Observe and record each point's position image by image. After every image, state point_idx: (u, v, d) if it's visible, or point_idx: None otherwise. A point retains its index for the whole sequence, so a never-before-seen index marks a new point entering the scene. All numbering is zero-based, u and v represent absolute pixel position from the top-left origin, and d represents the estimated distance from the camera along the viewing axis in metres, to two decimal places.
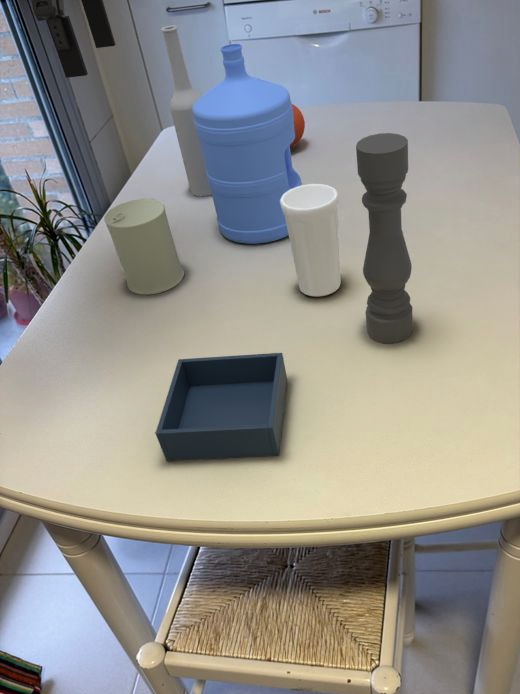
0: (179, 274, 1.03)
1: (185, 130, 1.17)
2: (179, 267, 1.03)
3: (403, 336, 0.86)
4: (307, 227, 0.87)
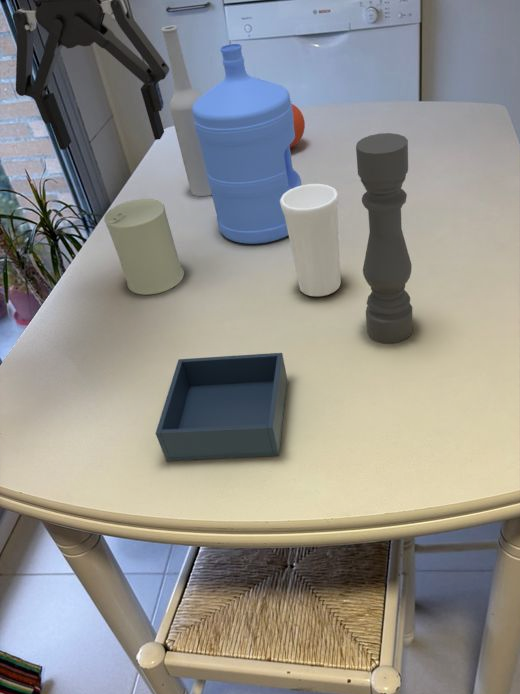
0: (179, 274, 1.03)
1: (185, 130, 1.17)
2: (179, 267, 1.03)
3: (403, 336, 0.86)
4: (307, 227, 0.87)
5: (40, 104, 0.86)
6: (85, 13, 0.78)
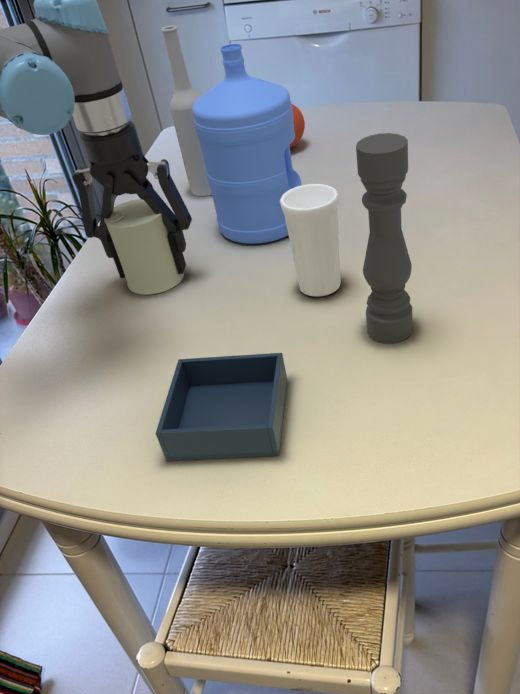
0: (179, 274, 1.03)
1: (185, 130, 1.17)
2: None
3: (403, 336, 0.86)
4: (307, 227, 0.87)
5: (105, 243, 1.00)
6: (132, 168, 0.91)
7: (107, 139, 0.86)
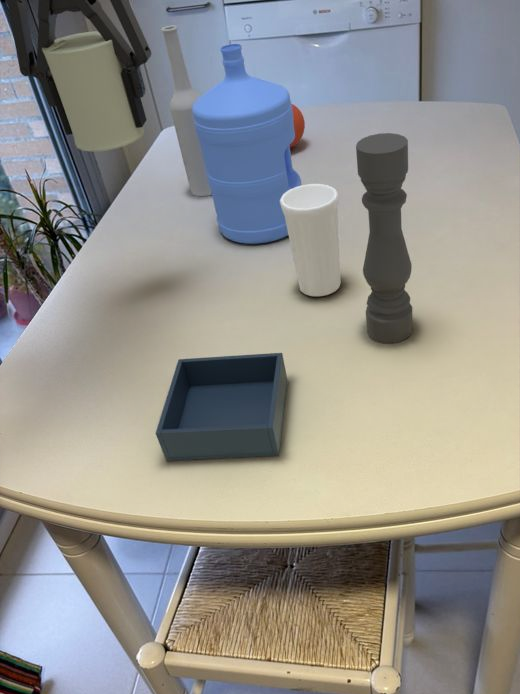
0: (138, 129, 0.85)
1: (185, 130, 1.17)
2: None
3: (403, 336, 0.86)
4: (307, 227, 0.87)
5: (46, 85, 0.81)
6: None
7: None
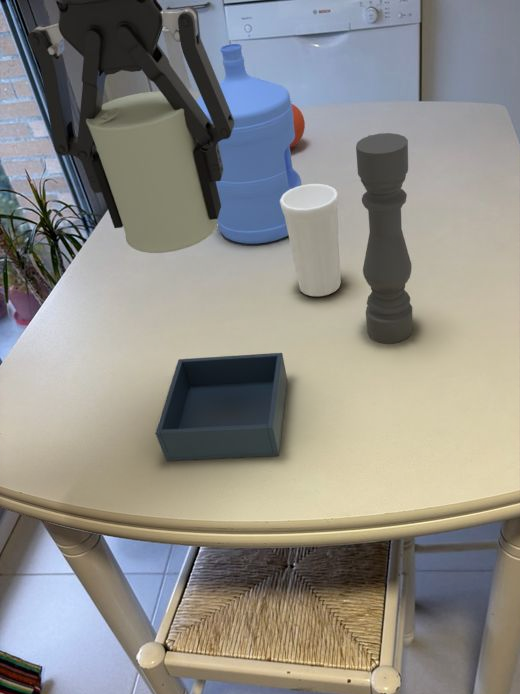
0: (211, 220, 0.63)
1: None
2: None
3: (403, 336, 0.86)
4: (306, 227, 0.87)
5: (89, 166, 0.60)
6: (135, 19, 0.51)
7: None
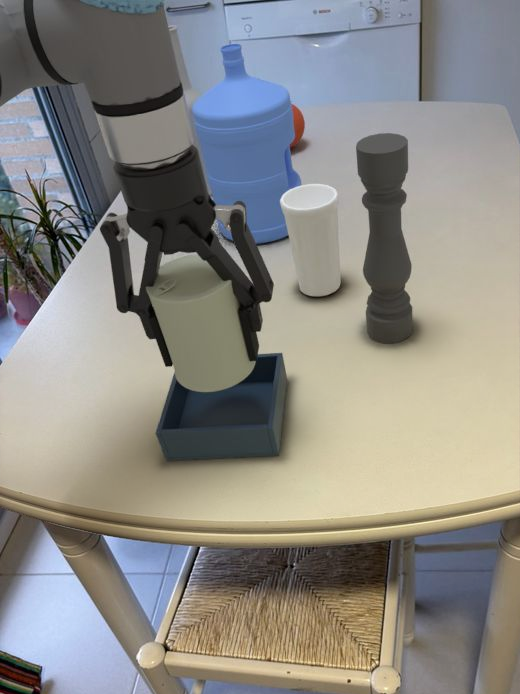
0: (250, 361, 0.71)
1: None
2: None
3: (403, 336, 0.86)
4: (307, 227, 0.87)
5: (145, 319, 0.68)
6: (193, 216, 0.59)
7: (158, 174, 0.54)
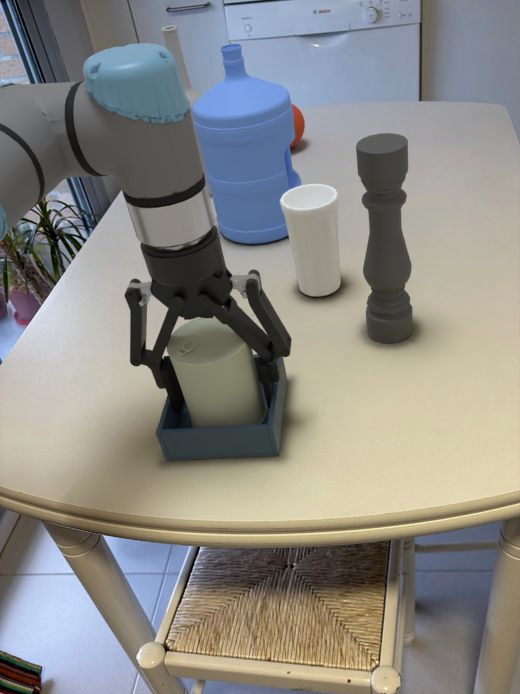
0: (262, 412, 0.77)
1: None
2: (262, 402, 0.76)
3: (403, 336, 0.86)
4: (307, 227, 0.87)
5: (156, 372, 0.73)
6: (212, 288, 0.65)
7: (182, 255, 0.59)
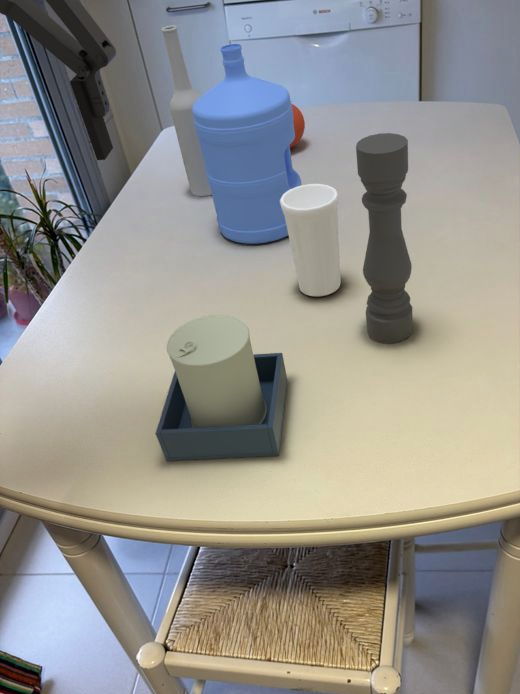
0: (262, 412, 0.77)
1: (185, 130, 1.17)
2: (262, 402, 0.76)
3: (403, 336, 0.86)
4: (307, 227, 0.87)
5: None
6: None
7: None
